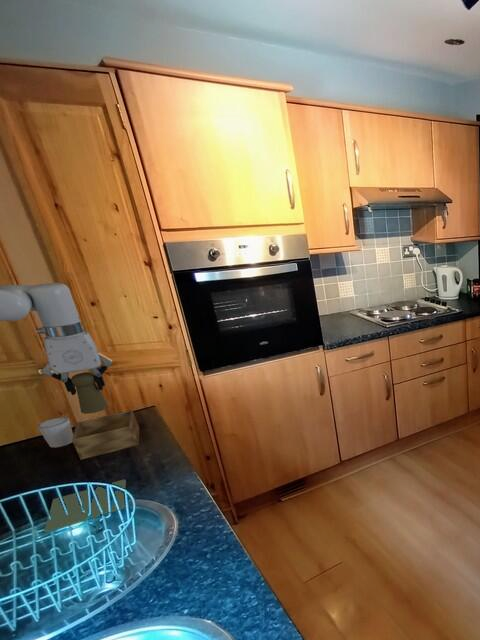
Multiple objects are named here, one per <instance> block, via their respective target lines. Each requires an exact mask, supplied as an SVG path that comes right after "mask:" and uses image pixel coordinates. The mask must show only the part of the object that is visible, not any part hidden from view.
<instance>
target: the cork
mask: <svg viewBox="0 0 480 640" xmlns="http://www.w3.org/2000/svg"><path fill="white" fill-rule="evenodd" d="M70 378H71V382H72V384H73V385H74V386H75V388H76V394H77V398H78V403H79V408H80V413H81V414H83V415H85V414H87V415H88V414H96V413H99V412H102V411H105V410H106V409H108V408H109V405H108V403H107V401H106V399H105V398H104V396H103V394H102V392H101V390H99V388H98V386H97V383H96V380H95V374H94V373H93V372H80V373H77V374H74V375H72V377H70Z"/></svg>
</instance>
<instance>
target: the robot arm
mask: <svg viewBox="0 0 480 640" xmlns="http://www.w3.org/2000/svg"><path fill="white" fill-rule="evenodd" d="M31 312H36V313H37V315H38V319H39V320H40V323H41V325H42V326H41V327H39V328H38V327H37V328H36V333H37V334H42V335H43V334H44V335H45V336H44V337H43V346H44V350H45V353H46V357H47V361H48V362H47V363H46V364H45V367H44V368H43V369H42V371H41V374H43V375H45V376H48V377H52V378H53V379H56V380H58V381H61V382H62V383H63V384H64V386H65V389H66V391H67V393H70V395H71V396H75V395H76V394H77V389H76V387H75V386H74V385H73V384H72V382H71V378H72V377H70V376H69V374H70V373H74V372H83V371H88V370H91V371H92V374H94V375H95V380H96V382H95V384H96V386H97V387H98V389H99V391H103V389H104V387H105V386H106V382H105V380H104V377H103V375H104V373H105V372H106V371H107V370H108V369H109V368H110V367H111V366H112V365H113V363H114V360H113V359H111V358H109V357H107V356H106V355H104V354H102V353H100V351H99V350H98V347H97V345H96V343H95V341H94V340H93V337H92V336H91V334H90V332H88V331H87V330H85V329H84V326H83V323H82V320H81V318H80V315H79V313H78V310H77V306H76V303H75V302H74V299H73V296H72V294H71V291H70V289H69V287H68V286H67V285H66V284H65V283H60V282H45V283H38V284H3V285H0V321H4V322H14V321H15V322H16V321H20V320H22V319H24V318H26V317H27V316H28V315H29V313H31ZM102 362H103V364H102Z"/></svg>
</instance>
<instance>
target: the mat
mask: <svg viewBox="0 0 480 640" xmlns="http://www.w3.org/2000/svg"><path fill="white" fill-rule="evenodd" d="M111 483H112V484H115V485H118V486H121V487H122V488H125V489H126V485H127V480H126V479H124V478H123V479H120V480H117V481H114V482H113V481H112V482H111ZM96 487H97V488H96V490H95V494H96V495H97V497H98V499H99V502H100V506H101V508H102V510H103V514H104V515H103V516H105V515H108V514H109V513H108V503H107V493H106V489H104V488H102V487H99V486H96ZM87 490H88V489H85V490H81V491H78V492H79V494H80V496H81V500H82V508H83V510H85V513H84V512H82V509H81V507H80V505H79V502H78V499H77V496H76V493H77V492H74V493H70V494H66V495H63V496H62V497H63V499H64V502H65V504H66V507H67V510H68V515H66V514H65V512H64V510H63V507H62V505H61V503H60V500H59V497H56V498H53V499H52V502H51V505H50V509H49V512H50V514H51V517H52V518H51V520H49V519H48V518H47V520H46V523H45V527H44V533H45V534H47V533H50V532H53V531H57V530H60V529H63V528H66V527H69V526H73V525H75V524H78V523H79V524H80V523H82V522H85V521H87V520H86V519H87V517H88V492H87ZM115 495H116V498H117V500H118V502H119V507H120V510H119V511H121V510H124V509H125V505H124V494H123V493H122V492H121V491H118V490H117V491H115ZM115 512H118V511H117V509H116V507H115V505H114V504H112V507H111V513H110V514H112V513H115ZM98 517H101V516H100V511H99V510H98V507H97V503H96V500H95V499H94V498H93V499H92V503H91V519H90V520H92V519H95V518H98Z"/></svg>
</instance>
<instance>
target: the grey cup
mask: <svg viewBox="0 0 480 640" xmlns="http://www.w3.org/2000/svg"><path fill="white" fill-rule="evenodd" d="M71 425H72V424H71V422H70V418H69V417H65V416H64V417H63V416H61V417H55V418H51V419H47V420H44V421H42V422H40V423H38V424H37V425H36V427H37V429H38V431H39V432H40V434H41V435H42V437H43V439H44V440H45V441H46V443H47V444H48V446H49V447H50V448H61V447H65V446H67V445H69V444H73V441H72V439H73V435H74V431H73V429H72V426H71Z"/></svg>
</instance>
